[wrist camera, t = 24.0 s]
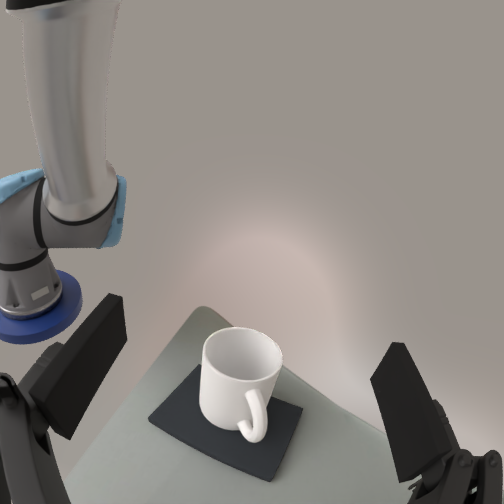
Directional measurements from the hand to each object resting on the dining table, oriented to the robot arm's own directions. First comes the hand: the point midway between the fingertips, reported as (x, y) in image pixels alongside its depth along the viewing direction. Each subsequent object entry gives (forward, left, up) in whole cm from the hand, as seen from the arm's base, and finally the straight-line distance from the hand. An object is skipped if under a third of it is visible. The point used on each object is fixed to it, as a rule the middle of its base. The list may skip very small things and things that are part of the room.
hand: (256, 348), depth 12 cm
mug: (-3, +9, -22) cm, 24 cm away
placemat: (-3, +9, -22) cm, 24 cm away
